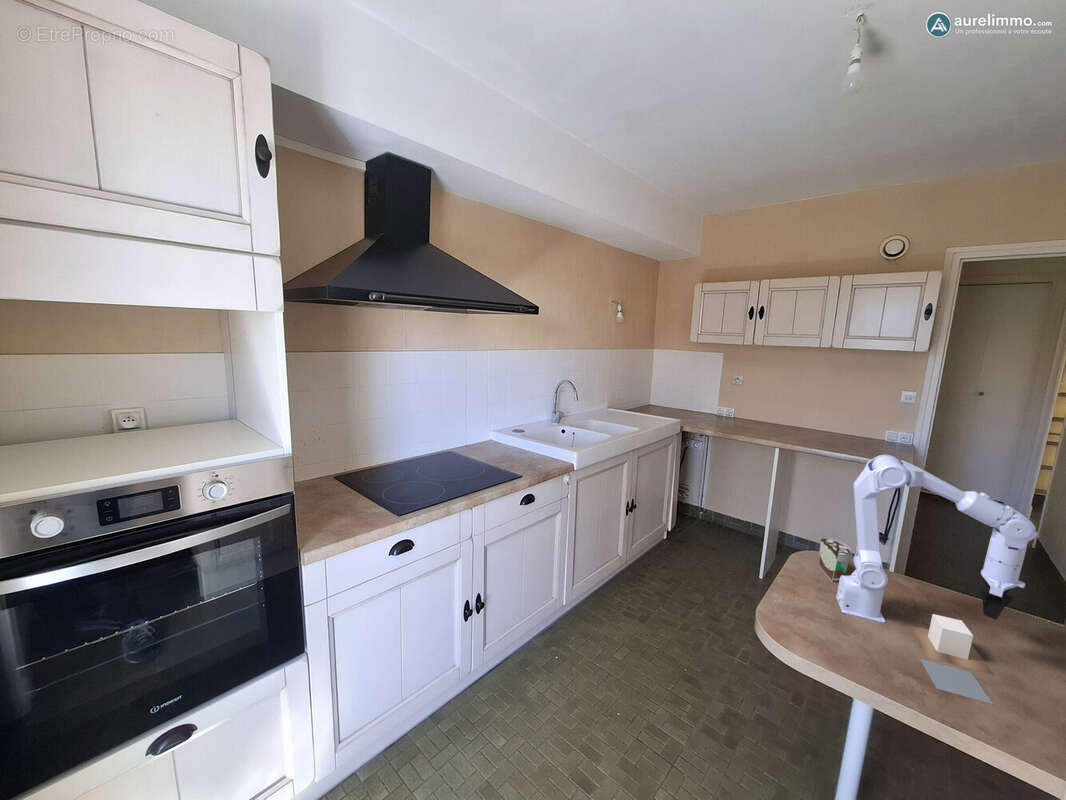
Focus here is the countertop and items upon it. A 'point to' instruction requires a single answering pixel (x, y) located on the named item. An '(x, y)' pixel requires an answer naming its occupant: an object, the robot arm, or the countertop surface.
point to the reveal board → (930, 652)
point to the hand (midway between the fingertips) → (991, 610)
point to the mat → (955, 681)
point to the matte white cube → (950, 636)
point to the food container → (834, 558)
